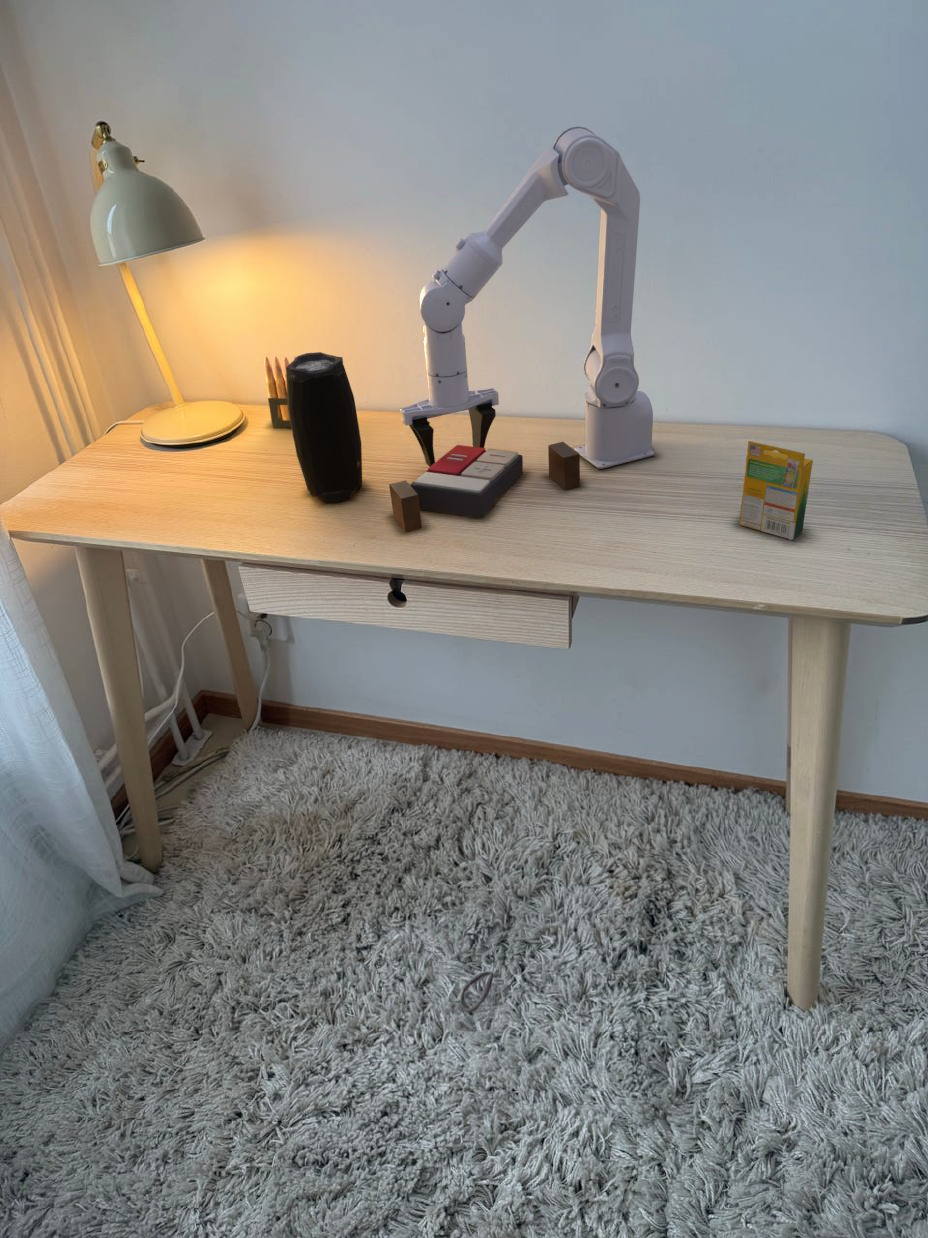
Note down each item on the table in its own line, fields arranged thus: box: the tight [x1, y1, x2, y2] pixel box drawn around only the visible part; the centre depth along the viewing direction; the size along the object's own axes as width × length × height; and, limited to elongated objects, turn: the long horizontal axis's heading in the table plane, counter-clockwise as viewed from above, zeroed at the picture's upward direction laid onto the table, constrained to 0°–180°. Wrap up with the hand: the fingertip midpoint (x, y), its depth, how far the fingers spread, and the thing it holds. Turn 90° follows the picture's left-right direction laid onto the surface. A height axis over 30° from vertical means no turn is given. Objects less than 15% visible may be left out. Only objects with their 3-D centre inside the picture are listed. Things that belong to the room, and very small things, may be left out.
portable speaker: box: [286, 351, 363, 504], centre depth 129 cm, size 9×9×20 cm
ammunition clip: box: [263, 355, 297, 428], centre depth 154 cm, size 11×2×12 cm, turn 75°
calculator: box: [409, 444, 524, 519], centre depth 130 cm, size 11×4×15 cm
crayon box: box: [738, 440, 813, 541], centre depth 113 cm, size 7×3×12 cm, turn 49°
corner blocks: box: [388, 441, 581, 533], centre depth 127 cm, size 26×5×5 cm, turn 112°
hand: (454, 459), depth 137 cm, fingers open, 7 cm apart
